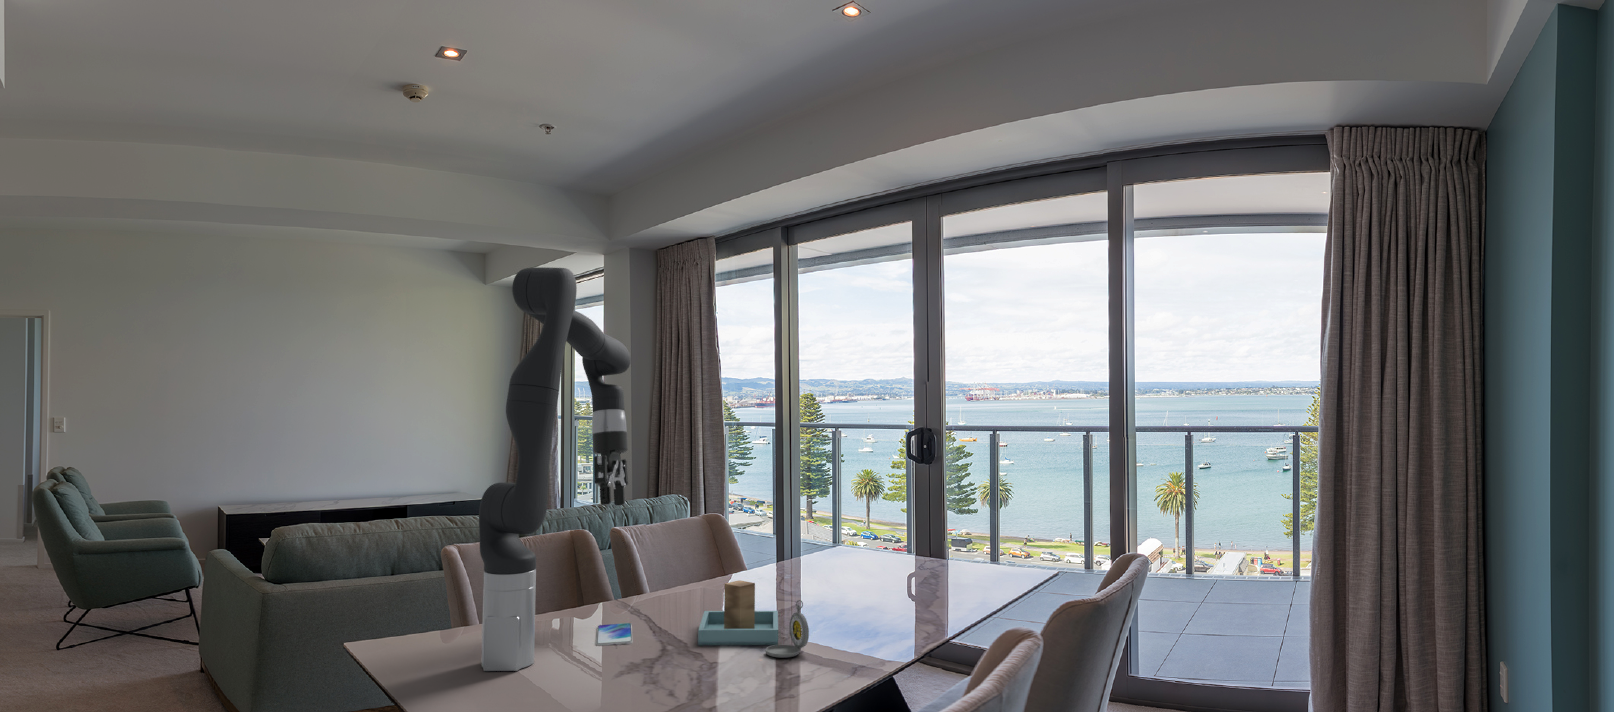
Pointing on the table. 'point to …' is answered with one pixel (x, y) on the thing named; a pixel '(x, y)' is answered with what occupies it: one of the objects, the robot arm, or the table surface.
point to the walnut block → (739, 605)
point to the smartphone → (614, 634)
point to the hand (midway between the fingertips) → (612, 504)
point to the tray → (738, 630)
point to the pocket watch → (792, 637)
